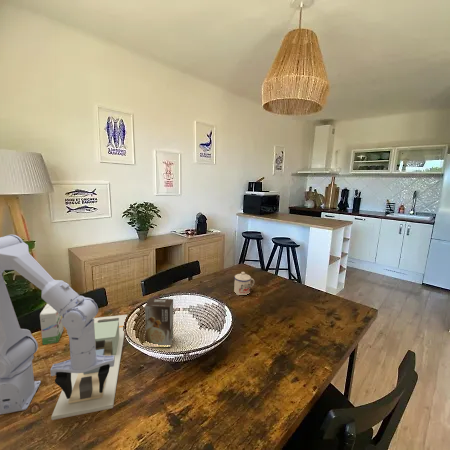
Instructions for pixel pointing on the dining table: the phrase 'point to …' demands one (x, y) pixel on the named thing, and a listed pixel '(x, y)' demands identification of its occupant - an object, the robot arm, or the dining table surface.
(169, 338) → the coffee box
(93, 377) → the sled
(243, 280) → the teacup with lid
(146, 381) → the dining table surface
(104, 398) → the deck
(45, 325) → the ink box
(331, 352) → the dining table surface
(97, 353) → the block
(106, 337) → the tunnel
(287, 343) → the dining table surface
